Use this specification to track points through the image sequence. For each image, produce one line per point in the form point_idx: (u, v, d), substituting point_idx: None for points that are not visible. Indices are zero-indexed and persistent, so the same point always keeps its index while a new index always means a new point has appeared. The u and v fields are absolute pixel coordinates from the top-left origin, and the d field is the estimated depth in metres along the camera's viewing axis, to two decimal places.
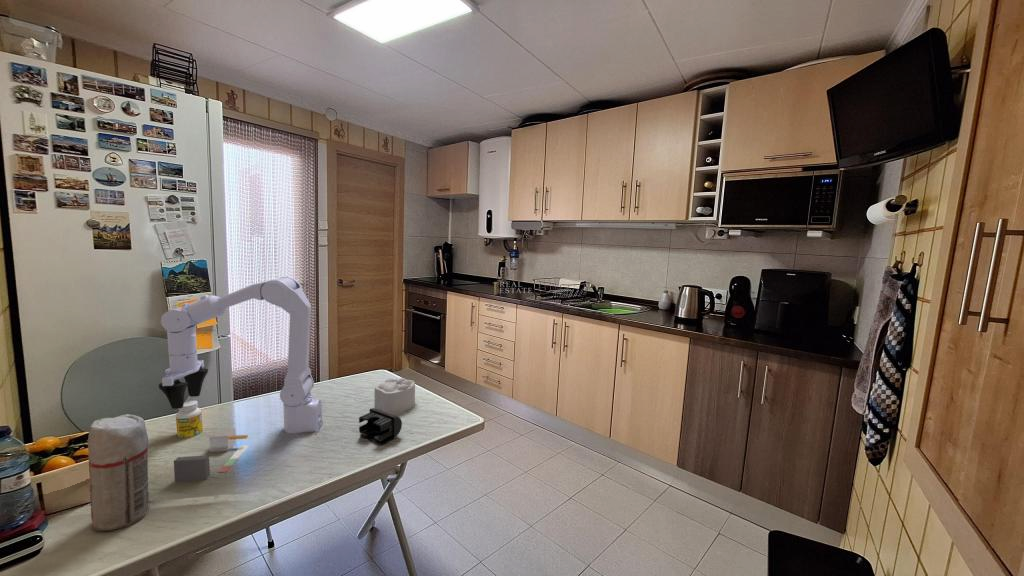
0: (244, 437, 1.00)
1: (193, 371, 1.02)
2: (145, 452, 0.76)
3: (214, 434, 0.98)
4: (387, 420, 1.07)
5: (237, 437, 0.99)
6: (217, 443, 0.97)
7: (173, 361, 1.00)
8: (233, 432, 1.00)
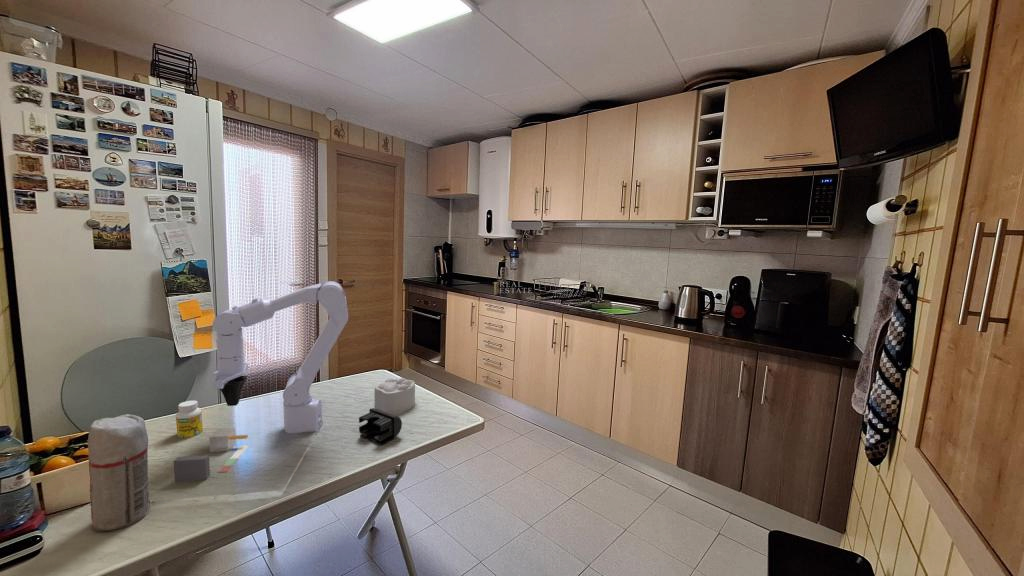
0: (244, 437, 1.00)
1: (241, 374, 1.02)
2: (145, 452, 0.76)
3: (214, 434, 0.98)
4: (387, 420, 1.07)
5: (237, 437, 0.99)
6: (217, 443, 0.97)
7: (222, 364, 1.00)
8: (233, 432, 1.00)
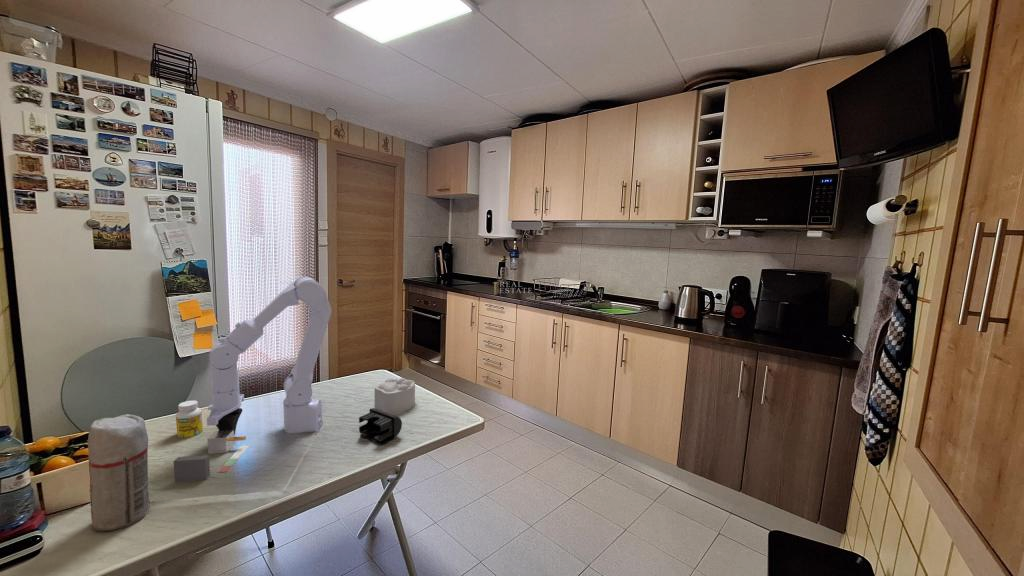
0: (243, 439, 0.99)
1: (236, 408, 1.00)
2: (145, 452, 0.76)
3: (212, 436, 0.97)
4: (387, 420, 1.07)
5: (235, 439, 0.99)
6: (215, 445, 0.96)
7: (217, 398, 0.98)
8: (231, 434, 1.00)
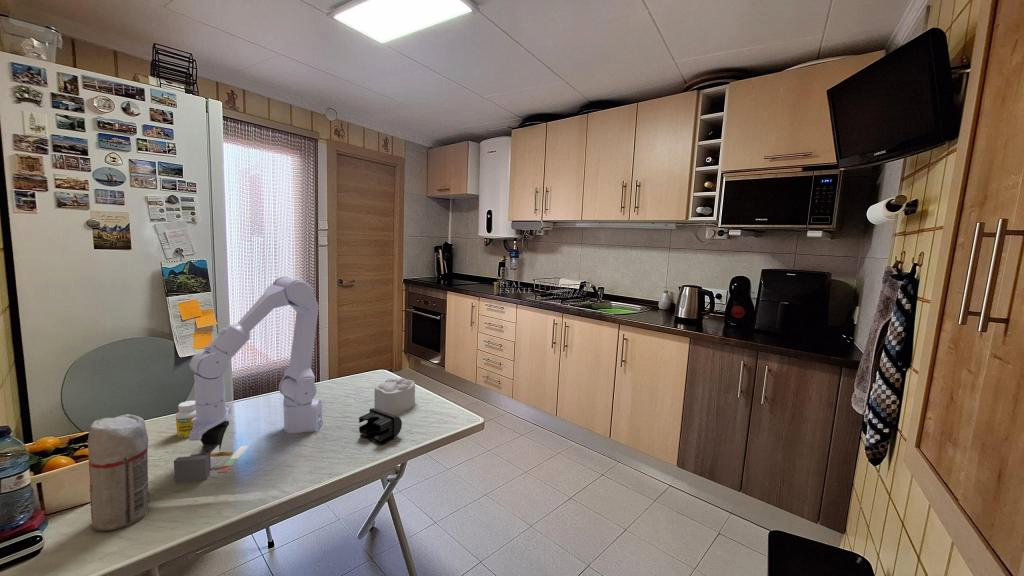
0: (228, 454, 0.92)
1: (222, 421, 0.93)
2: (145, 452, 0.76)
3: (196, 451, 0.90)
4: (387, 420, 1.07)
5: (221, 454, 0.92)
6: None
7: (200, 411, 0.91)
8: (217, 448, 0.93)
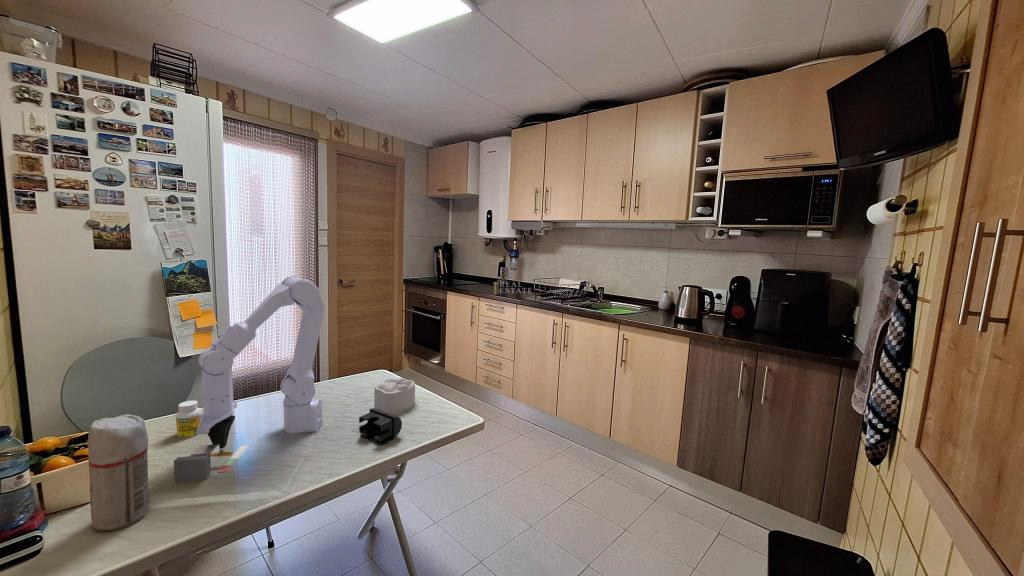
0: (228, 454, 0.92)
1: (228, 415, 0.96)
2: (145, 452, 0.76)
3: (196, 451, 0.90)
4: (387, 420, 1.07)
5: (221, 454, 0.92)
6: None
7: (208, 406, 0.93)
8: (217, 448, 0.93)
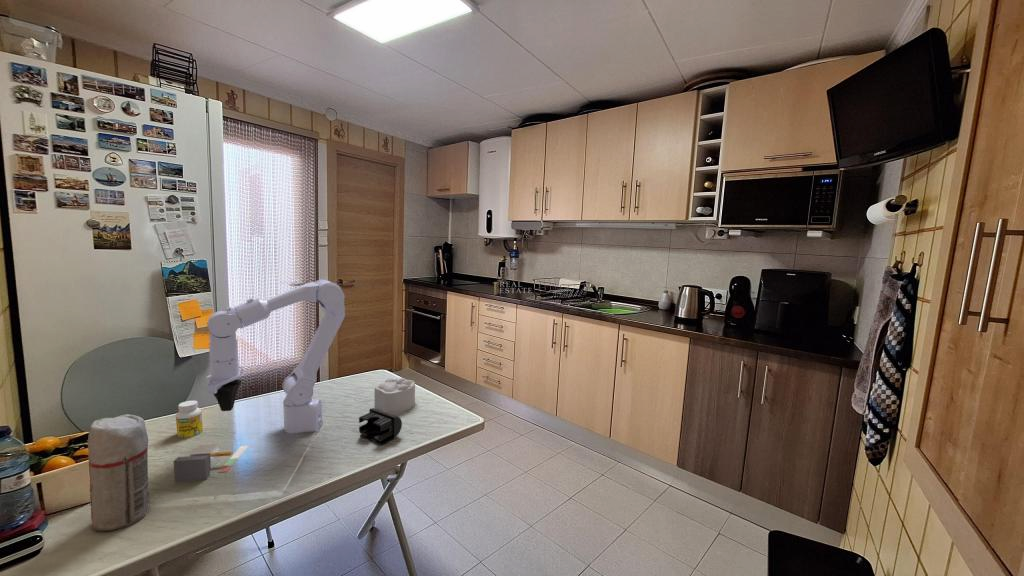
0: (228, 454, 0.92)
1: (235, 378, 0.98)
2: (145, 452, 0.76)
3: (196, 451, 0.90)
4: (387, 420, 1.07)
5: (221, 454, 0.92)
6: None
7: (215, 368, 0.96)
8: (217, 448, 0.93)
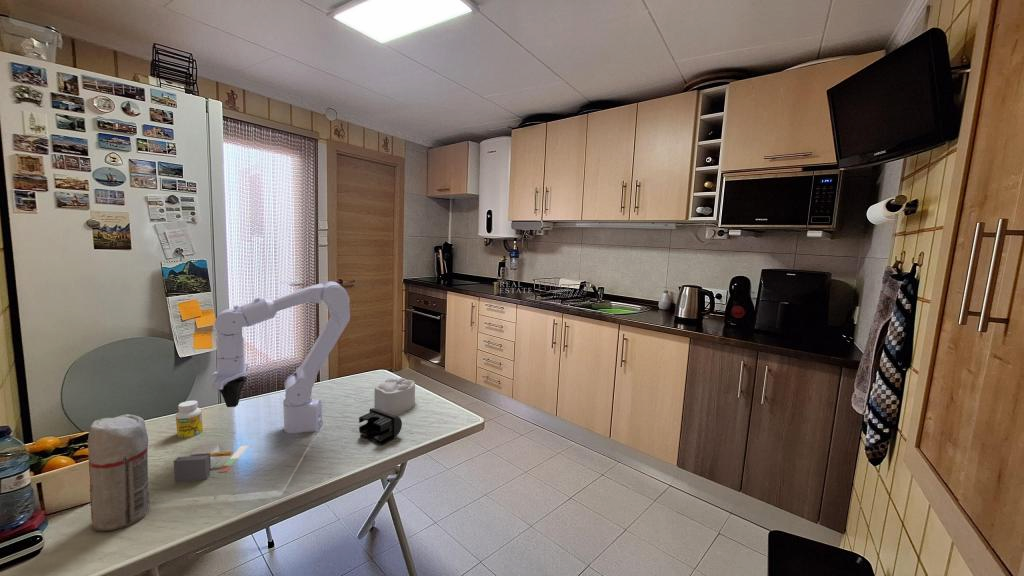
0: (228, 454, 0.92)
1: (241, 375, 1.00)
2: (145, 452, 0.76)
3: (196, 451, 0.90)
4: (387, 420, 1.07)
5: (221, 454, 0.92)
6: None
7: (222, 364, 0.98)
8: (217, 448, 0.93)
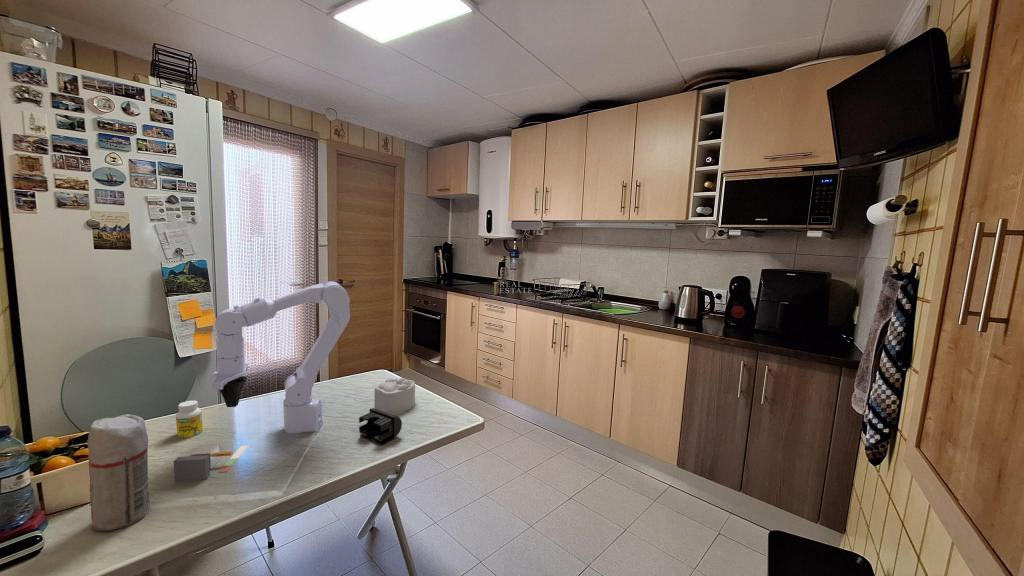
0: (228, 454, 0.92)
1: (241, 375, 1.00)
2: (145, 452, 0.76)
3: (196, 451, 0.90)
4: (387, 420, 1.07)
5: (221, 454, 0.92)
6: None
7: (222, 364, 0.98)
8: (217, 448, 0.93)
